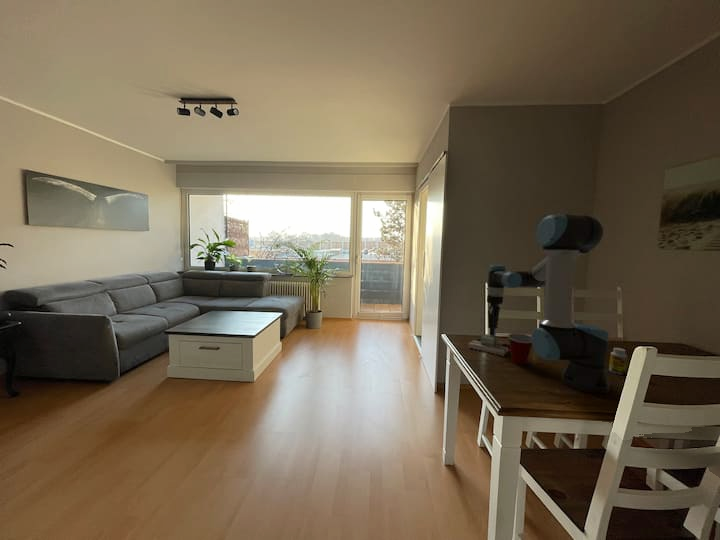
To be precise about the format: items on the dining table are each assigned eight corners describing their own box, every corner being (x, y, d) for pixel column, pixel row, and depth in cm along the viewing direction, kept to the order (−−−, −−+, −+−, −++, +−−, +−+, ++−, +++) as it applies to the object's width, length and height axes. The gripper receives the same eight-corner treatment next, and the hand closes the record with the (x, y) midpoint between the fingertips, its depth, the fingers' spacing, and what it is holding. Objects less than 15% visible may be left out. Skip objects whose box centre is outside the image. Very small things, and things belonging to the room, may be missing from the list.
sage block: (493, 347, 159) (493, 339, 158) (480, 344, 162) (481, 336, 162) (497, 344, 164) (497, 336, 164) (485, 341, 168) (485, 334, 168)
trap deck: (503, 356, 154) (504, 351, 154) (468, 348, 164) (468, 343, 164) (513, 346, 170) (514, 341, 169) (481, 339, 180) (481, 335, 180)
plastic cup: (508, 365, 142) (510, 339, 141) (503, 357, 153) (505, 332, 151) (535, 368, 140) (537, 341, 138) (528, 359, 150) (530, 334, 149)
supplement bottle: (610, 372, 138) (612, 349, 137) (607, 368, 142) (610, 346, 142) (626, 375, 135) (629, 352, 134) (623, 371, 140) (626, 348, 139)
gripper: (491, 292, 172) (488, 336, 174) (483, 295, 162) (480, 341, 164) (506, 294, 167) (503, 339, 169) (499, 297, 157) (495, 345, 159)
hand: (491, 340), depth 166 cm, fingers closed
